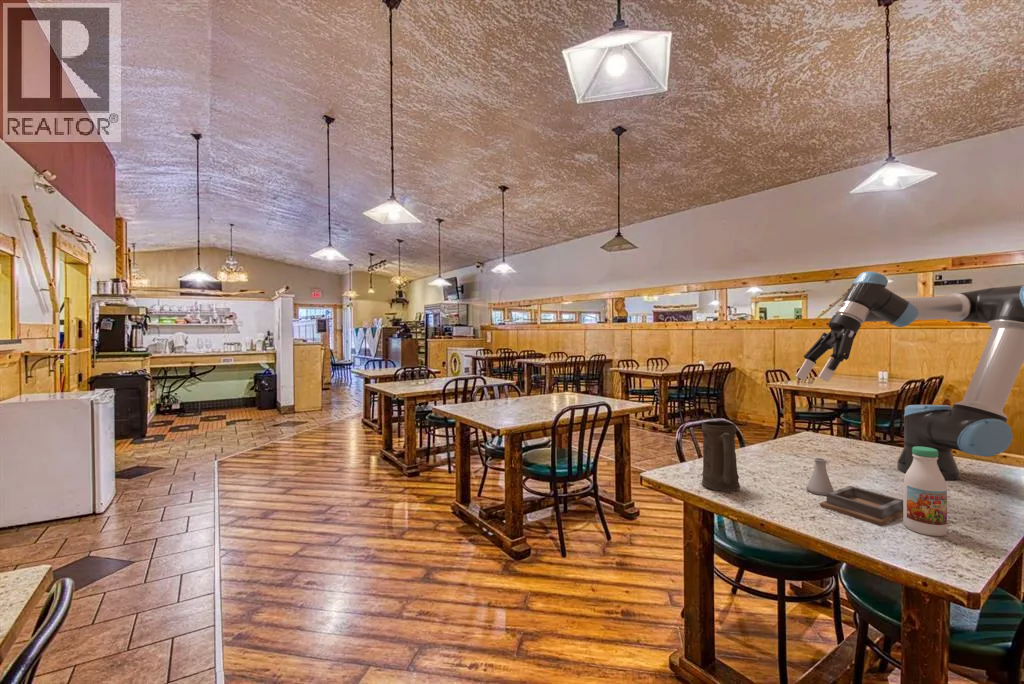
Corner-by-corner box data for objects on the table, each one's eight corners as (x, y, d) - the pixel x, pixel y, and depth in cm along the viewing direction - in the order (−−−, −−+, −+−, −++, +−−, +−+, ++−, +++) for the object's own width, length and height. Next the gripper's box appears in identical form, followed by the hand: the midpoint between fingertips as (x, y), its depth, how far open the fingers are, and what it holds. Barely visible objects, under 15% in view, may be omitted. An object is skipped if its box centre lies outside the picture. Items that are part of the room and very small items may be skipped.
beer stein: (695, 480, 143) (695, 419, 142) (728, 480, 142) (728, 419, 142) (716, 498, 127) (715, 430, 127) (753, 498, 127) (753, 430, 126)
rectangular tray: (850, 495, 128) (850, 483, 128) (911, 513, 115) (911, 499, 115) (819, 506, 120) (819, 494, 120) (881, 526, 108) (881, 512, 108)
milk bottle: (894, 523, 109) (895, 444, 109) (922, 522, 110) (923, 443, 109) (926, 538, 101) (927, 453, 101) (956, 536, 102) (957, 452, 102)
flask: (840, 497, 127) (840, 463, 127) (812, 495, 128) (812, 462, 128) (827, 488, 134) (827, 456, 134) (801, 487, 135) (801, 455, 135)
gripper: (814, 318, 145) (781, 372, 146) (861, 307, 121) (821, 372, 121) (836, 329, 144) (802, 383, 145) (888, 320, 120) (847, 386, 120)
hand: (810, 378), depth 133 cm, fingers open, 13 cm apart
